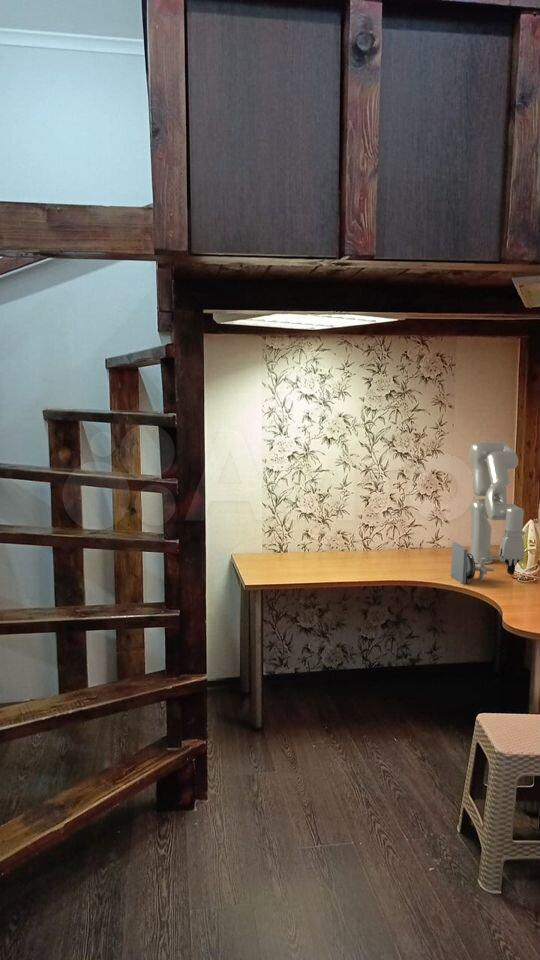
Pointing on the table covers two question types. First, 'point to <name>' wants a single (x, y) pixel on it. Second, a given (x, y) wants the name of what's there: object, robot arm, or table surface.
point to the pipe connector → (483, 569)
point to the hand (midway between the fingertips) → (510, 573)
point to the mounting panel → (459, 563)
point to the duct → (470, 566)
